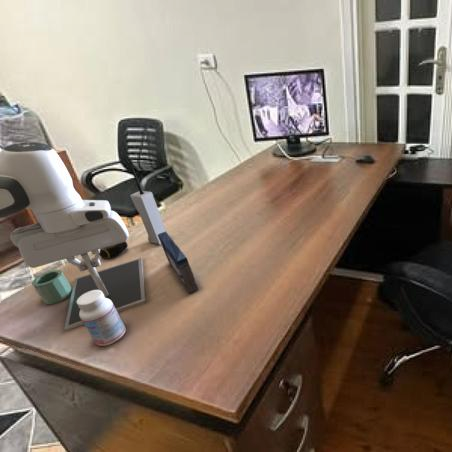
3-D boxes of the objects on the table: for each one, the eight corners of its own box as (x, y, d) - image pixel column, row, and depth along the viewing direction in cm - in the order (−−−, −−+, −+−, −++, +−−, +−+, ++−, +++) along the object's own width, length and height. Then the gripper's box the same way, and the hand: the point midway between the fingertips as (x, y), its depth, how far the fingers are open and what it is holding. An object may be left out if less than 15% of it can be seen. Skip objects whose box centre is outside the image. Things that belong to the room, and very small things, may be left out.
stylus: (102, 297, 87) (78, 254, 80) (102, 294, 88) (79, 251, 81) (108, 295, 87) (86, 252, 81) (109, 292, 88) (86, 249, 82)
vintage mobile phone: (158, 236, 115) (130, 164, 103) (169, 239, 113) (141, 165, 100) (149, 242, 112) (118, 168, 100) (160, 245, 110) (130, 170, 98)
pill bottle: (91, 338, 77) (67, 299, 71) (120, 321, 80) (99, 283, 75) (101, 351, 73) (77, 311, 67) (131, 333, 77) (110, 294, 71)
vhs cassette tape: (168, 263, 100) (157, 233, 95) (179, 259, 102) (168, 230, 97) (187, 295, 87) (174, 262, 82) (199, 290, 88) (187, 257, 83)
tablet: (65, 331, 79) (63, 328, 79) (75, 281, 97) (74, 278, 96) (146, 302, 86) (144, 299, 85) (142, 260, 103) (141, 257, 103)
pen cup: (41, 307, 88) (29, 289, 85) (46, 293, 93) (34, 275, 90) (71, 298, 90) (60, 279, 87) (73, 284, 95) (63, 266, 92)
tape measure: (130, 248, 110) (126, 238, 108) (114, 261, 104) (109, 251, 102) (113, 247, 111) (108, 237, 109) (95, 260, 105) (90, 249, 104)
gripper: (1, 237, 70) (36, 290, 77) (114, 208, 78) (137, 259, 84) (9, 224, 75) (41, 276, 82) (115, 198, 83) (136, 247, 89)
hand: (91, 267), depth 83 cm, fingers closed on stylus, 1 cm apart
